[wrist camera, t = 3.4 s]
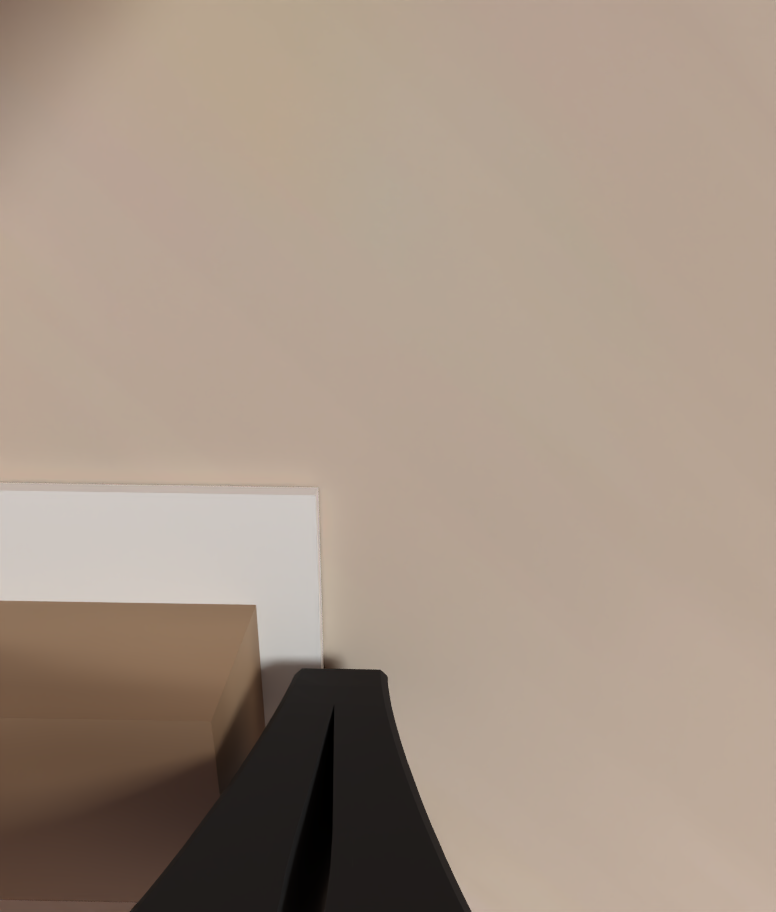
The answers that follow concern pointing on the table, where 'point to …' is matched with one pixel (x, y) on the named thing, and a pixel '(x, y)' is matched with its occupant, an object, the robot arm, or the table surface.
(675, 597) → the table surface
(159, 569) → the white base with panel
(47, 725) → the batten
